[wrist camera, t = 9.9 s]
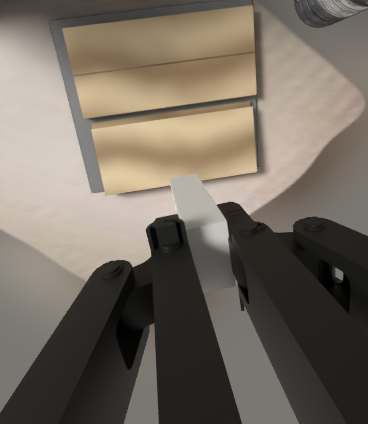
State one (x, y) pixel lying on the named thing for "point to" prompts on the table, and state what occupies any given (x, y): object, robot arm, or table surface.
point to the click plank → (175, 147)
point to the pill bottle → (327, 10)
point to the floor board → (163, 61)
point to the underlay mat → (85, 126)
